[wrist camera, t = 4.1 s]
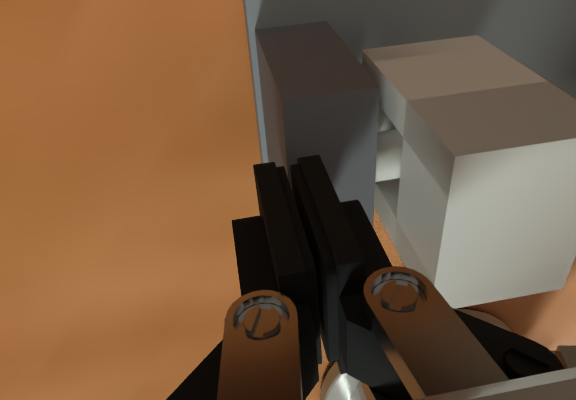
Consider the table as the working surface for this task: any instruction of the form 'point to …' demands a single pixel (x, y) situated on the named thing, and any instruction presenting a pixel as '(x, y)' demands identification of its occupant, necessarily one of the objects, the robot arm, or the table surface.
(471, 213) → the grooved white cube
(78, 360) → the table surface
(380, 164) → the rail
